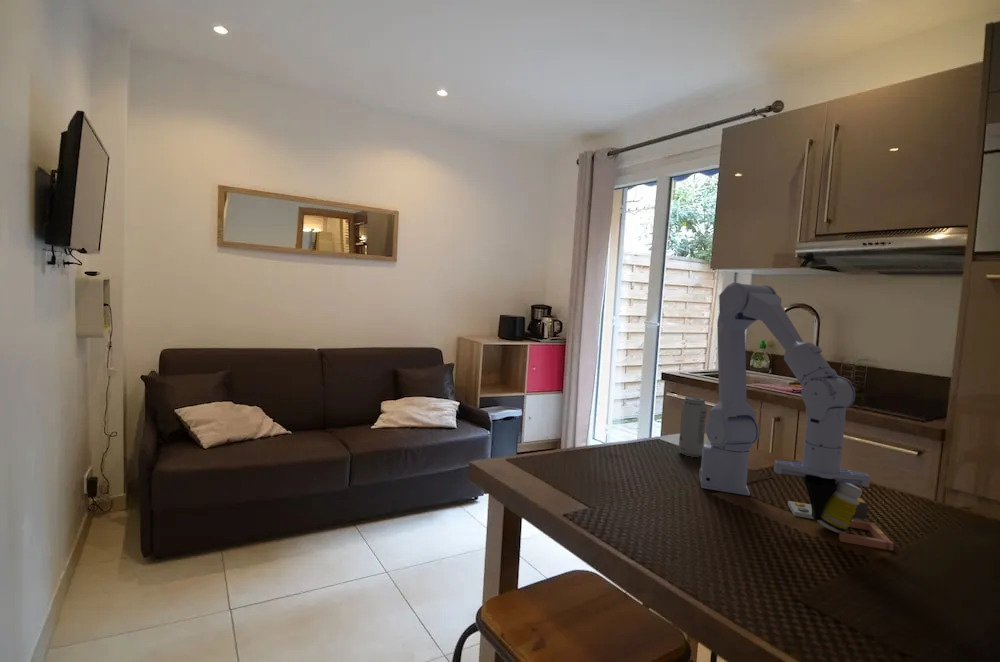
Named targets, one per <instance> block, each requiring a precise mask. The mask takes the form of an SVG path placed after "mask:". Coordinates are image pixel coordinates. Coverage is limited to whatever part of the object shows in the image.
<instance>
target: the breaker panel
mask: <svg viewBox="0 0 1000 662" xmlns="http://www.w3.org/2000/svg"><path fill="white" fill-rule="evenodd" d="M787 505H788V507H789V508H788V509H790V511H791V512H792V515H793V516H794V517H799V518H800V517H801V518H805V519H812V520H814V518H813V517H812V507H811V503H810V504H809V503H805V502H799V501H798V502H797V501H792V500H788V501H787ZM853 519H854V520H860V521H864V520H863V518H858V517H853Z"/></svg>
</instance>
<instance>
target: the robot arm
mask: <svg viewBox="0 0 1000 662" xmlns="http://www.w3.org/2000/svg"><path fill="white" fill-rule="evenodd" d="M718 300H719V303H718V304H719V305H718V306H719V313H718V317H717V324H716V325H717V326H716V327H717V328H716V329H717V364H718V365H717V366H718V402H717V403H716V404H714V405H713V406H712V408H710V410H708V421H707V422H706V425H705V432H706V437H707V438H708V441H709V442H710V443H704V444H703V449H702V454H701V460H700V461H701V462H700V468H699V470H698V472H699V473H698V475H699V480H700V481H699V482H700V487H701V488H702V489H706V490H712V491H718V492H723V493H730V494H737V495H742V496H750V495H751V493H750V490H749V487H748V485H747V482H748V470H749V460H750V459H749V458H750V450H752V449H753V444H756V442H757V441H758V439H759V437H760V434H761V433H760V426H759V424H758V422H757V419H756V418H757V417H756V411H755V410H754V409H753V408H752V407H751V405H750V404H749V403H748V402H747V400H748V399H747V397H748V396H747V371H746V370H747V368H746V367H747V365H746V363H747V362H746V359H747V358H746V357H747V356H746V330H747V329H748V328H749V326H751V325H752V324H753V323H755V322H757V321H761V322H762V323H763V324H764V325H765V326H766V328H767V329H768V330H769V332H771V334H772V335H773V336H774V338H775V339H776V340H777V341H778V343H779V344H780V346H782V348H783V349H784V350H785V352H784V355H783V360H784V362H785V363H786V365H787V366H788V368H789V369H790V371H791V372H792V374H793V375H794V377H796V380H797V381H798V382H799V384H800V385H801V387H802V388H803V389H801V391H800V396H801V399H802V401H803V403H804V405H805V414H806V423H805V436H804V443H803V444H804V445H803V453H802V454H803V455H802V461H800V462H799V461H784V460H777V459H776V460H774V465H773V472H774V473H775V474H779V475H783V474H784V475H790V476H791V475H792V476H798V477H802V479H803V481H804V484H805V487H806V490H807V493H808V497H809V501H810V504H811V507H812V517H813V518H814V519H813V520H815V521H817V520H819V519H820V515H821V512H822V510H823V508H824V506H825V504H826V503H827V501H828V500H829V498H830V497H831V496H832V494H833V493H834V492H835V491H836V489H837V485H836V484H835V483H836V481H837V482H838V481H840V482H844V483H851V484H853V485H859V486H861V487H865V488H870V482H871V481H870V479H871V477H870V475H869V474H868V473H866V472H860V471H856V470H849V469H844V468H841V463H842V452H843V444H844V443H843V442H844V434H845V433H844V432H845V423H846V414H847V409H848V408H849V407H851V406H852V405H853V404H854V402H855V399H856V390H855V388H854V386H853V384H852V381H851V380H849V379H848V378H847V377H843V376H839V374H837V371H836V370H835V369H834V368H832V367H831V366H830V364H829V363H828V361H827V360H826V359H825V357H824V356H823V355H822V354H821V353H822V352H823V351H822V349H821V347H820V346H818V345H815V344H814V343H811V342H810V341H809V342H807V341H804V340H803V338H802V337H801V335H800V333H799V332H798V330H797V329H796V327H795V326H794V324H793V321H791V319H790V318H789V316H788V314H787V313H786V311H785V310H784V308H783V306H782V297H780V296H779V294H777V291H776V290H775V289H774V287H772V286H770V285H765V284H764V285H757V284H745V283H740V282H732V283H729V284H728V285H726V287H725V288H724V289H723V291H721V293H720V294H719V295H718Z"/></svg>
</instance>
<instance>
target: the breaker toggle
mask: <svg viewBox="0 0 1000 662" xmlns="http://www.w3.org/2000/svg"><path fill="white" fill-rule="evenodd" d="M857 499H858V501H859V506H858V508H857V510H856V512H855V514H854V517H858V518H861V519H865V520H867V516H868V507H869V504H868V503H867V502H866V501H865V500H864V499H863V498H862V497H860V498H857Z"/></svg>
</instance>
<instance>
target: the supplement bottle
mask: <svg viewBox="0 0 1000 662" xmlns="http://www.w3.org/2000/svg"><path fill="white" fill-rule="evenodd" d="M835 484H836V485H837V489H836V491H835V492H834V493H833V494H832V496H831V497H830V498H829V500H828V501H827V503H826V504H825V506H824V508H823V510H822V512H821V515H820V519H819V520H816V521H817V522H818V524H820V525H821V526H823V527H825V528H826V529H828V530H830V531H832V532H834V533H837V534H839V532H841V533H847V531H848V529H849V528H850V527H849V525H850V523H851V521H852V519H853V517H854V514H855V512H856V510H857V508H858V506H859V501H858V499H857V498H862V496H861V495H862V494H863V490H862V488H860V487H858V486H857V485H856V484H851V483H844V482H840V481H838V482H837V481H836V482H835Z"/></svg>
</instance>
